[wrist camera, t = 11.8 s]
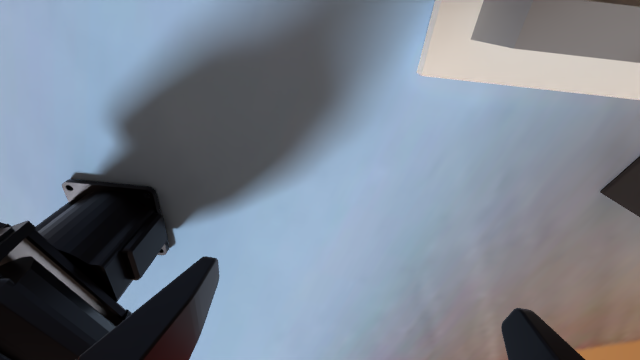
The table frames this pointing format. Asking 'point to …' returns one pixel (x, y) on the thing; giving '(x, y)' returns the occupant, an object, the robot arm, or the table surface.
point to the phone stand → (626, 188)
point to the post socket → (537, 44)
